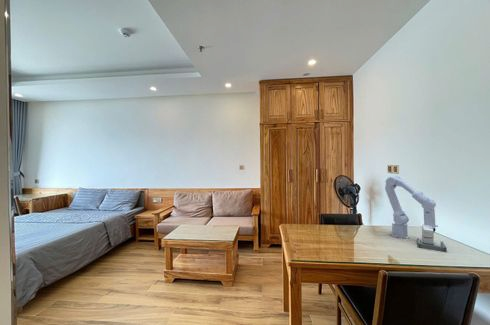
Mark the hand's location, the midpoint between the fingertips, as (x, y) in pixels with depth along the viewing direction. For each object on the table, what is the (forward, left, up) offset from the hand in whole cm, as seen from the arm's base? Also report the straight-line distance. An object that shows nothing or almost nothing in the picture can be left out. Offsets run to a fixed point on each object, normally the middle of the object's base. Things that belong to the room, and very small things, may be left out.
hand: (430, 238), depth 143 cm
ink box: (-2, -4, -3) cm, 6 cm away
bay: (-1, -5, -3) cm, 6 cm away
